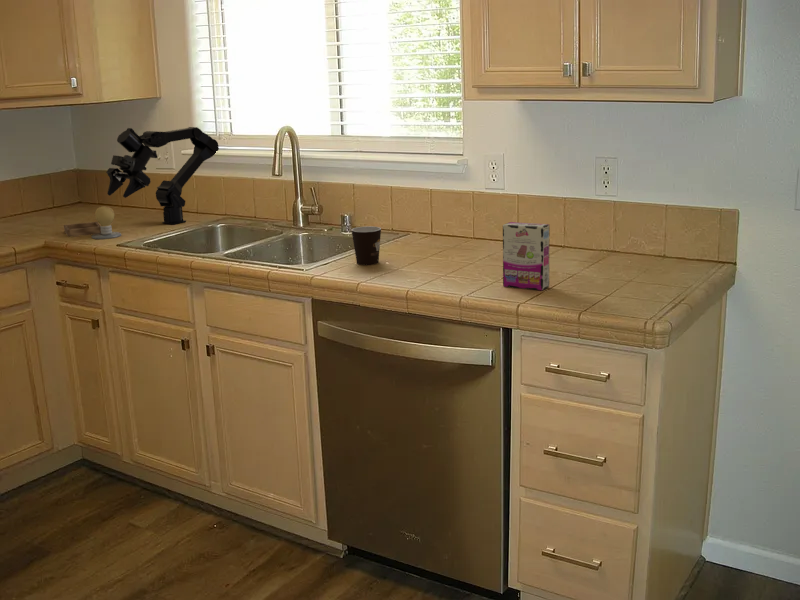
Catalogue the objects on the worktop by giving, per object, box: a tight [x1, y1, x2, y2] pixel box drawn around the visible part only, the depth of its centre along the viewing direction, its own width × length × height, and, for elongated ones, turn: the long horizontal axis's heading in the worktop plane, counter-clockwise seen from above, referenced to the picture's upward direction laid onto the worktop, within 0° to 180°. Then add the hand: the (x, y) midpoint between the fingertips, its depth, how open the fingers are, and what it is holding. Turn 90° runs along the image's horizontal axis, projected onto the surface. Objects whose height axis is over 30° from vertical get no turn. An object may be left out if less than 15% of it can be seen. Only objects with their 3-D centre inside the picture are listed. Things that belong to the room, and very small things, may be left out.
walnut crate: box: [63, 221, 101, 237], centre depth 327 cm, size 12×12×2 cm
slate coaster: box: [91, 231, 122, 240], centre depth 319 cm, size 10×10×1 cm
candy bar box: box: [502, 221, 551, 291], centre depth 231 cm, size 11×5×16 cm, turn 59°
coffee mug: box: [351, 225, 382, 266], centre depth 265 cm, size 12×9×10 cm
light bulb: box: [94, 205, 115, 235], centre depth 317 cm, size 6×6×10 cm
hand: (116, 195), depth 319 cm, fingers open, 9 cm apart
